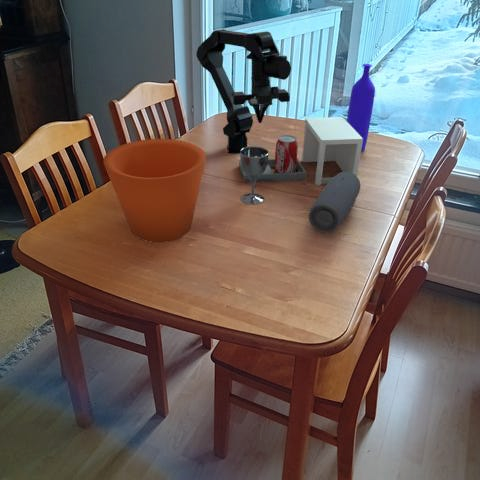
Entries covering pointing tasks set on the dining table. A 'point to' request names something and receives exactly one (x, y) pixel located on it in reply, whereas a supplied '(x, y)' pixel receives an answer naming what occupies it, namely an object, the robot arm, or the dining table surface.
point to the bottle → (361, 105)
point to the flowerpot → (157, 185)
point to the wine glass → (253, 170)
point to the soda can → (286, 154)
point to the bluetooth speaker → (334, 202)
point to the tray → (271, 176)
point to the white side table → (331, 145)
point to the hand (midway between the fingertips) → (259, 122)
